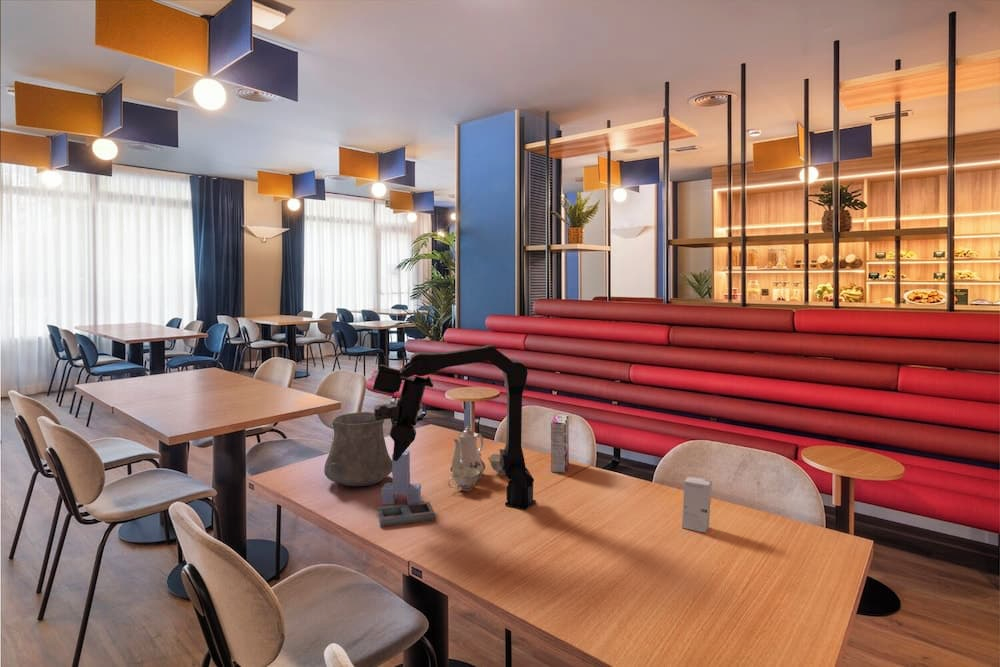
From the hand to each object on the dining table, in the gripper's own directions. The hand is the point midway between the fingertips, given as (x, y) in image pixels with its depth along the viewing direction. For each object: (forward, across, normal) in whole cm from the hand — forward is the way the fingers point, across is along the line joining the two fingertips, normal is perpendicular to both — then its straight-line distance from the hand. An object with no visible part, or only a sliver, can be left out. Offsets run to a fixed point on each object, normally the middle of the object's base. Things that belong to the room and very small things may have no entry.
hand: (395, 455), depth 157 cm
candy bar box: (+1, -29, +54) cm, 62 cm away
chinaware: (+9, -22, +27) cm, 36 cm away
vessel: (+18, -25, -6) cm, 31 cm away
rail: (+14, +5, +7) cm, 16 cm away
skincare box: (-6, +22, +76) cm, 79 cm away
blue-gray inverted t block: (+14, -6, +6) cm, 17 cm away
